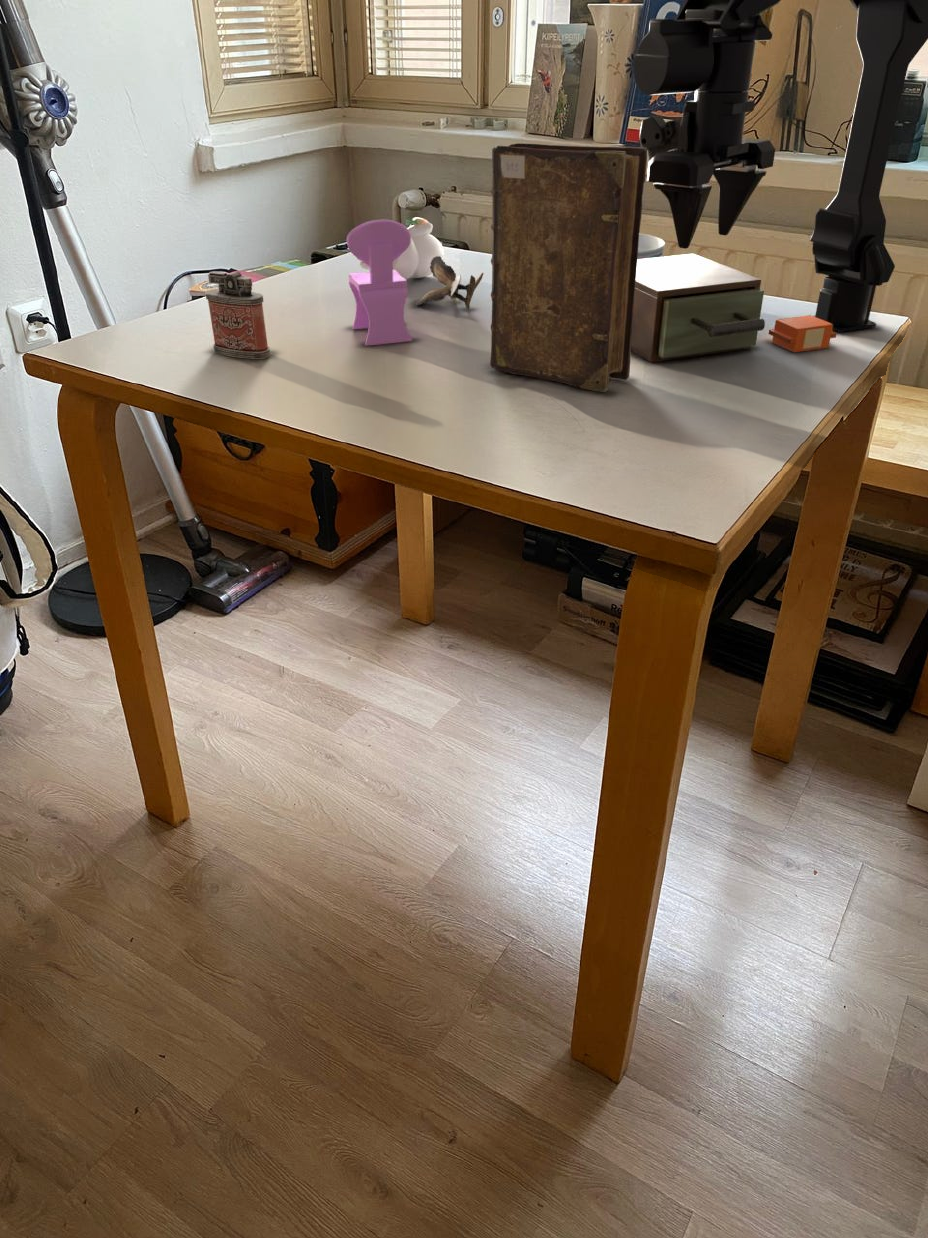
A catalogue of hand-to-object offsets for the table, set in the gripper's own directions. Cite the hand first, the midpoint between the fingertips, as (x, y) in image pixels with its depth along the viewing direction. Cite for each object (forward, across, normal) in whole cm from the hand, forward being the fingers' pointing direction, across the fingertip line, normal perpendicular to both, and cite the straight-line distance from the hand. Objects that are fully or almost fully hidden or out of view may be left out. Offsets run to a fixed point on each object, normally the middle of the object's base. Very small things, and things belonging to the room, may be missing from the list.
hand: (703, 241), depth 111 cm
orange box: (+14, -13, +9) cm, 21 cm away
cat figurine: (+14, -5, -56) cm, 58 cm away
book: (+14, +17, -8) cm, 23 cm away
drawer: (+13, -2, -2) cm, 13 cm away
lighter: (+14, +36, -45) cm, 59 cm away
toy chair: (+14, +19, -37) cm, 43 cm away
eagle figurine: (+14, +3, -40) cm, 42 cm away
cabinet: (+14, -5, -6) cm, 16 cm away
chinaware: (+14, -18, -24) cm, 33 cm away
